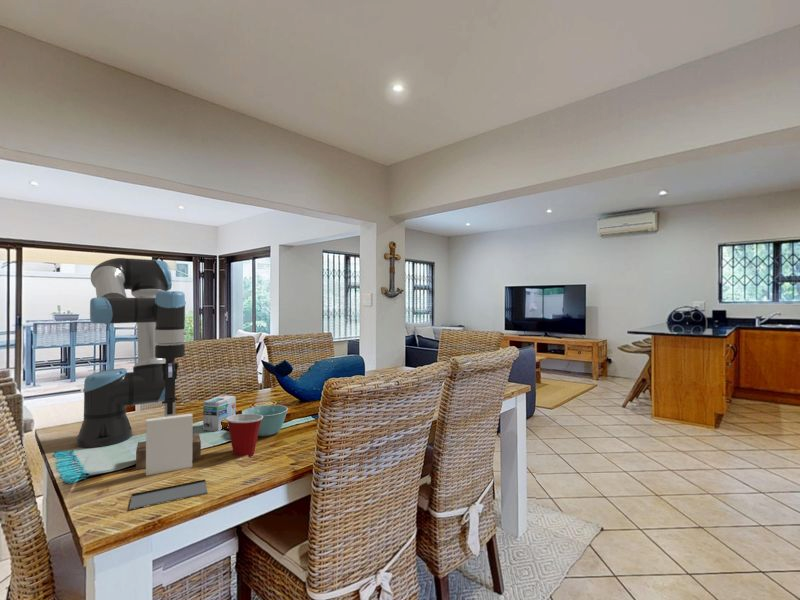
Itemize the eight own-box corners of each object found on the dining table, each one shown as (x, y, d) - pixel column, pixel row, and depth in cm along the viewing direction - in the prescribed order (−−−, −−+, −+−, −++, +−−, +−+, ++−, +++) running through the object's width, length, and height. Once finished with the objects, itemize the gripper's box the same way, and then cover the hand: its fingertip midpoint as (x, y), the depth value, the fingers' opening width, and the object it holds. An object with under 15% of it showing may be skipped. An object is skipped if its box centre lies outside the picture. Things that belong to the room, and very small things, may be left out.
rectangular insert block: (145, 477, 106) (146, 421, 106) (146, 474, 108) (146, 419, 108) (192, 469, 112) (192, 415, 112) (191, 465, 114) (192, 413, 114)
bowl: (233, 433, 143) (233, 410, 143) (272, 423, 155) (273, 402, 155) (255, 443, 133) (255, 418, 133) (296, 432, 145) (296, 409, 145)
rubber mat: (129, 510, 90) (129, 508, 90) (135, 476, 108) (135, 475, 108) (207, 493, 98) (207, 491, 98) (201, 464, 116) (201, 463, 116)
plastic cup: (270, 451, 126) (270, 413, 126) (244, 464, 116) (244, 423, 116) (244, 446, 130) (245, 409, 130) (217, 458, 120) (217, 418, 120)
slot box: (135, 473, 110) (136, 451, 110) (137, 462, 117) (137, 442, 117) (200, 461, 118) (200, 441, 118) (198, 452, 125) (198, 433, 125)
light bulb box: (218, 432, 144) (218, 402, 144) (202, 431, 145) (202, 401, 145) (236, 423, 155) (236, 395, 155) (220, 422, 156) (221, 394, 156)
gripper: (185, 345, 113) (185, 428, 113) (183, 341, 124) (183, 416, 124) (154, 346, 109) (154, 432, 109) (155, 342, 120) (155, 420, 120)
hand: (169, 424), depth 116 cm, fingers closed
